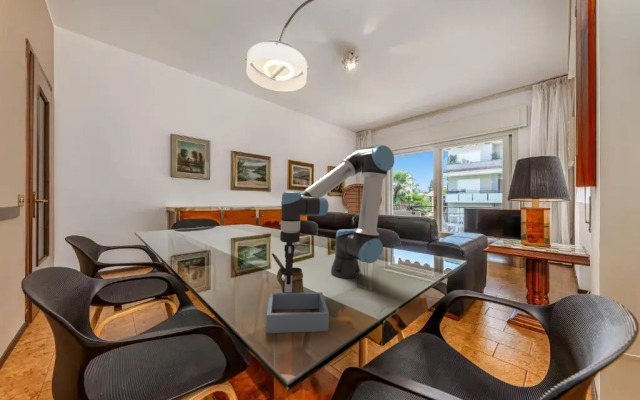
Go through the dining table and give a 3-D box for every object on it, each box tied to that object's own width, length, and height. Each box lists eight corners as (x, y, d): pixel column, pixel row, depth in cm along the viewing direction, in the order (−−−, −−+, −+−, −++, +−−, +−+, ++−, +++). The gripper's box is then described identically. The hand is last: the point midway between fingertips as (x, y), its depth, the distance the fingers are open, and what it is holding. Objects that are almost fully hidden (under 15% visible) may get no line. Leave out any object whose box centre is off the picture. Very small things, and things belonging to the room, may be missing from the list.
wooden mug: (269, 293, 102) (271, 250, 101) (302, 291, 105) (304, 249, 104) (270, 303, 93) (272, 256, 92) (306, 301, 96) (308, 255, 95)
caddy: (321, 306, 92) (322, 292, 92) (328, 331, 77) (329, 313, 77) (269, 307, 90) (270, 293, 89) (266, 333, 75) (266, 315, 74)
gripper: (281, 225, 109) (279, 273, 110) (279, 237, 85) (277, 298, 86) (298, 226, 110) (296, 273, 111) (301, 237, 86) (298, 298, 87)
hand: (287, 284), depth 99 cm, fingers open, 12 cm apart
